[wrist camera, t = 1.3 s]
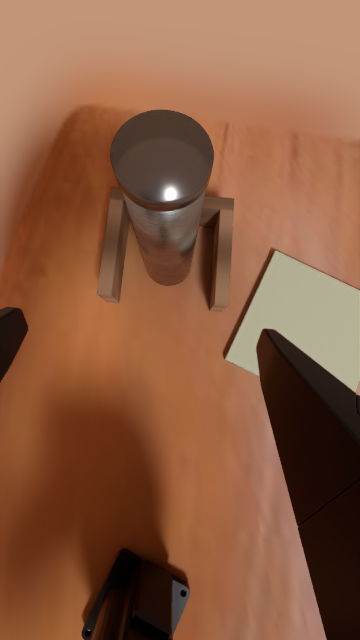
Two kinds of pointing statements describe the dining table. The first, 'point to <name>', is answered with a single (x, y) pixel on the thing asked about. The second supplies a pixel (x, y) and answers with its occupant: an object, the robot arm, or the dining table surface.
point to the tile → (303, 318)
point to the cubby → (212, 215)
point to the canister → (163, 187)
